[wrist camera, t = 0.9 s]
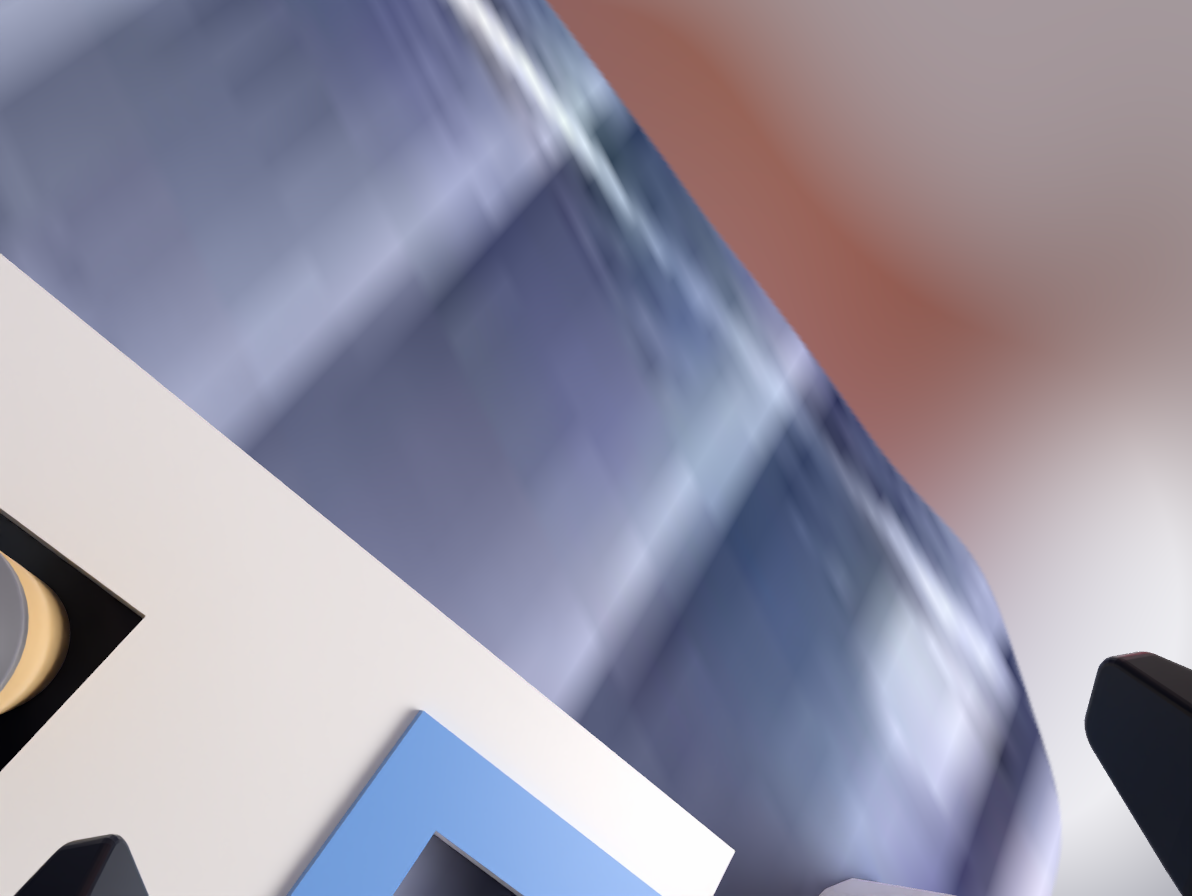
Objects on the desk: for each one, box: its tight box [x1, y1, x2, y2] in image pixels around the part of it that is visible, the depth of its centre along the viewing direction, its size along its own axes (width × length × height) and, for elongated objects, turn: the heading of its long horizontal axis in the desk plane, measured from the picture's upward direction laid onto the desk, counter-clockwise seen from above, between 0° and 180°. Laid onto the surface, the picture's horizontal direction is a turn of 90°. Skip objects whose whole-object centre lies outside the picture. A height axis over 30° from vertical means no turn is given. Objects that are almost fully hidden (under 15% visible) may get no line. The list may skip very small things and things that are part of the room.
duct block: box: [0, 254, 735, 896], centre depth 19 cm, size 12×22×3 cm, turn 54°
